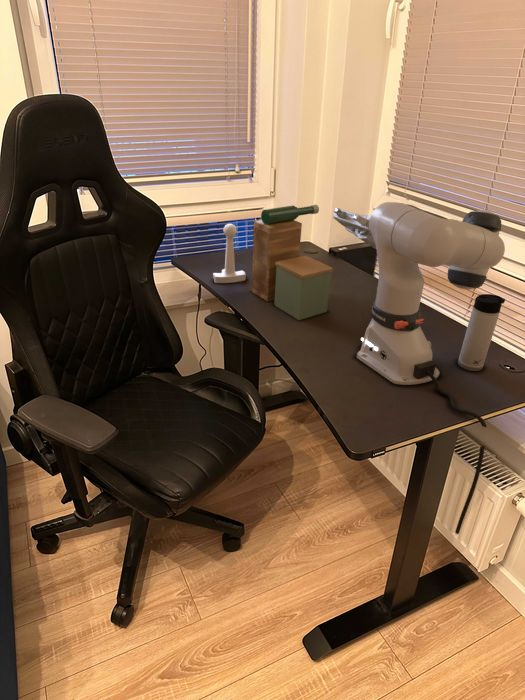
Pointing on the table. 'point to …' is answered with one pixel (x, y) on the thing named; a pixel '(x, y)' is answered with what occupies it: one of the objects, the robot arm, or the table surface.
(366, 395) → the table surface
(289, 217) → the bottle
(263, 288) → the shelf
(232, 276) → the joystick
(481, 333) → the travel mug
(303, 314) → the block
